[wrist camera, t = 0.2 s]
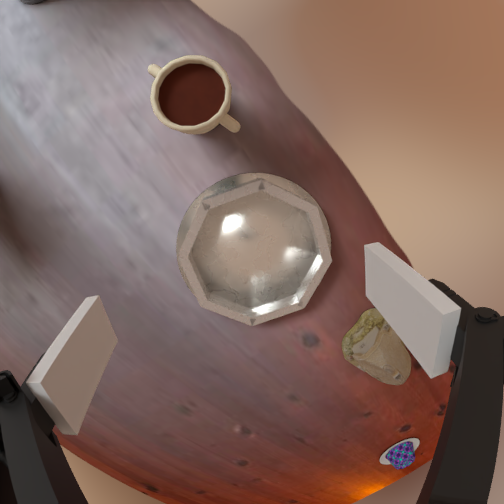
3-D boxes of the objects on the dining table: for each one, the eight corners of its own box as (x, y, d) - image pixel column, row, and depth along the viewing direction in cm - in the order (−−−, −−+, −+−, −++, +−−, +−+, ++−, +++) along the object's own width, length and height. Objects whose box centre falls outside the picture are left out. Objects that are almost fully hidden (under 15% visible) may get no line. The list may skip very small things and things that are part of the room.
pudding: (426, 434, 64) (433, 448, 59) (402, 460, 68) (408, 473, 63) (395, 437, 62) (402, 452, 57) (370, 463, 66) (376, 478, 61)
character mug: (151, 107, 35) (117, 92, 23) (186, 63, 34) (168, 30, 22) (218, 155, 38) (214, 161, 26) (254, 112, 37) (266, 97, 24)
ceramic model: (327, 342, 49) (345, 382, 40) (379, 296, 47) (408, 329, 38) (369, 378, 53) (389, 415, 44) (415, 339, 51) (441, 372, 42)
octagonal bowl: (152, 206, 40) (147, 211, 37) (305, 151, 39) (311, 151, 36) (211, 335, 47) (211, 346, 44) (344, 290, 46) (350, 299, 43)
